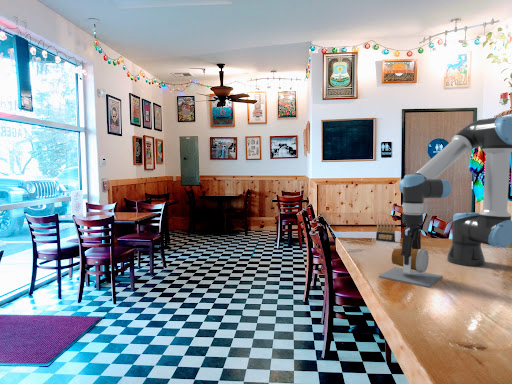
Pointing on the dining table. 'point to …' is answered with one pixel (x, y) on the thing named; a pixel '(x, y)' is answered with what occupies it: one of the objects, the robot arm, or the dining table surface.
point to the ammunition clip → (386, 232)
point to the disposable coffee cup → (412, 259)
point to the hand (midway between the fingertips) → (410, 270)
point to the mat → (411, 277)
